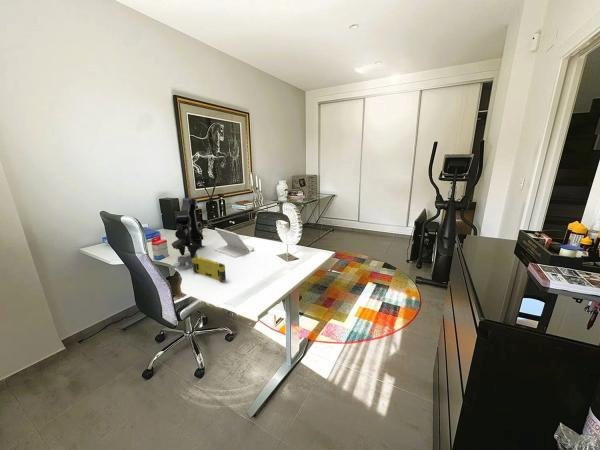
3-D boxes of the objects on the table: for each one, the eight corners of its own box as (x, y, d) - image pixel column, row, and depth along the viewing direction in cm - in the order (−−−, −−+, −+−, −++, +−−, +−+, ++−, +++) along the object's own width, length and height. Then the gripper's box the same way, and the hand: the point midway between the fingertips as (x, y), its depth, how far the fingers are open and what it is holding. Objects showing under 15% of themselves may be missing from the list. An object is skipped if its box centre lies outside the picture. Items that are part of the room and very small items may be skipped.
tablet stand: (234, 258, 167) (233, 234, 163) (213, 250, 182) (211, 228, 178) (254, 250, 181) (253, 228, 177) (233, 244, 196) (232, 223, 192)
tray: (193, 258, 166) (193, 253, 165) (204, 261, 161) (204, 256, 160) (171, 266, 152) (170, 261, 152) (182, 270, 147) (182, 264, 146)
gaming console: (228, 280, 135) (226, 263, 132) (222, 283, 131) (220, 266, 129) (198, 270, 147) (196, 254, 145) (191, 273, 144) (190, 257, 141)
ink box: (159, 260, 163) (156, 239, 159) (153, 259, 164) (150, 238, 160) (169, 255, 171) (166, 235, 167) (162, 255, 172) (160, 235, 168)
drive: (192, 259, 162) (191, 251, 160) (197, 260, 159) (196, 253, 158) (178, 264, 153) (177, 256, 152) (184, 266, 151) (183, 258, 149)
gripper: (163, 235, 149) (166, 259, 153) (182, 240, 140) (185, 265, 144) (180, 231, 159) (182, 253, 162) (199, 235, 150) (201, 259, 154)
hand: (187, 257), depth 155 cm, fingers open, 9 cm apart
